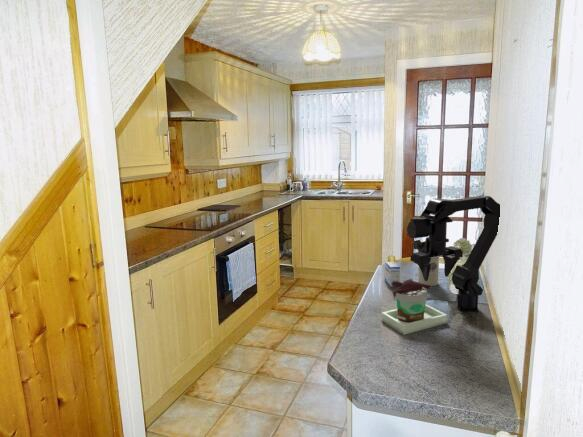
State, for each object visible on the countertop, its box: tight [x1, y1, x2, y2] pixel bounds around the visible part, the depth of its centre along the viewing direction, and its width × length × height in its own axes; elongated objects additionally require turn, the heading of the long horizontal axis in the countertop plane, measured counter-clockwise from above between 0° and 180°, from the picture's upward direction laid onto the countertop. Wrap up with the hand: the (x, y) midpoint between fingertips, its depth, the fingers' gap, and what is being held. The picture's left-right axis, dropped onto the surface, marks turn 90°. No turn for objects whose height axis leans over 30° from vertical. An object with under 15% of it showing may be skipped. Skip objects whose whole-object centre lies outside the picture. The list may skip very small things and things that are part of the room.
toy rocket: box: [392, 278, 432, 296], centre depth 168 cm, size 7×7×15 cm
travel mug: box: [417, 240, 440, 287], centre depth 179 cm, size 8×8×18 cm
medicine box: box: [384, 261, 401, 287], centre depth 182 cm, size 8×4×9 cm, turn 5°
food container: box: [394, 287, 429, 323], centre depth 143 cm, size 12×6×10 cm, turn 114°
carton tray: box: [381, 303, 448, 335], centre depth 144 cm, size 18×12×3 cm, turn 114°
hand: (436, 278), depth 148 cm, fingers open, 9 cm apart
